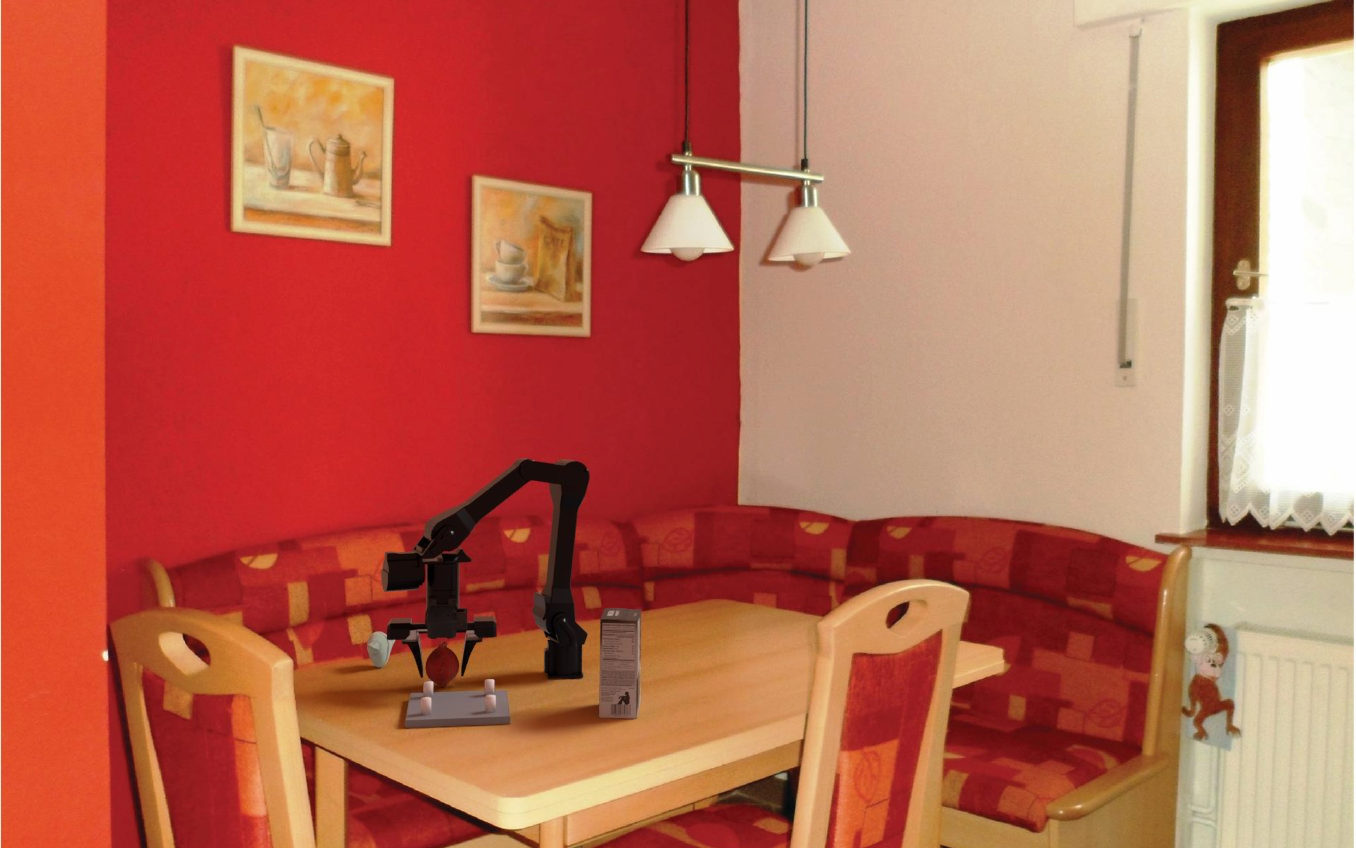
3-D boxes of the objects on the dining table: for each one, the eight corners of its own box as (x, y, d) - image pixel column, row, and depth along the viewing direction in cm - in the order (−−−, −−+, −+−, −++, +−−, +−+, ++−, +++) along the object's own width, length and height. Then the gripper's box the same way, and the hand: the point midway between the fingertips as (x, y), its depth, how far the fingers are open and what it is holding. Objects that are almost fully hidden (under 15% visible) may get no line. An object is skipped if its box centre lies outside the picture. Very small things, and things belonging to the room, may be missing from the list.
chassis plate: (506, 696, 192) (507, 675, 192) (510, 724, 176) (510, 700, 176) (410, 700, 189) (410, 678, 189) (405, 728, 173) (405, 704, 173)
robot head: (376, 673, 207) (376, 636, 206) (357, 671, 208) (357, 635, 208) (399, 663, 214) (399, 628, 214) (380, 662, 215) (381, 626, 215)
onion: (442, 693, 193) (442, 647, 193) (418, 688, 197) (418, 642, 196) (465, 686, 198) (466, 641, 198) (441, 681, 201) (442, 637, 201)
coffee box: (603, 703, 189) (604, 607, 188) (641, 703, 189) (642, 608, 188) (597, 718, 180) (598, 618, 179) (637, 719, 179) (638, 618, 179)
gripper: (384, 597, 187) (384, 690, 188) (497, 595, 191) (497, 686, 191) (389, 586, 198) (388, 674, 199) (496, 584, 202) (495, 670, 202)
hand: (442, 676), depth 197 cm, fingers open, 7 cm apart
